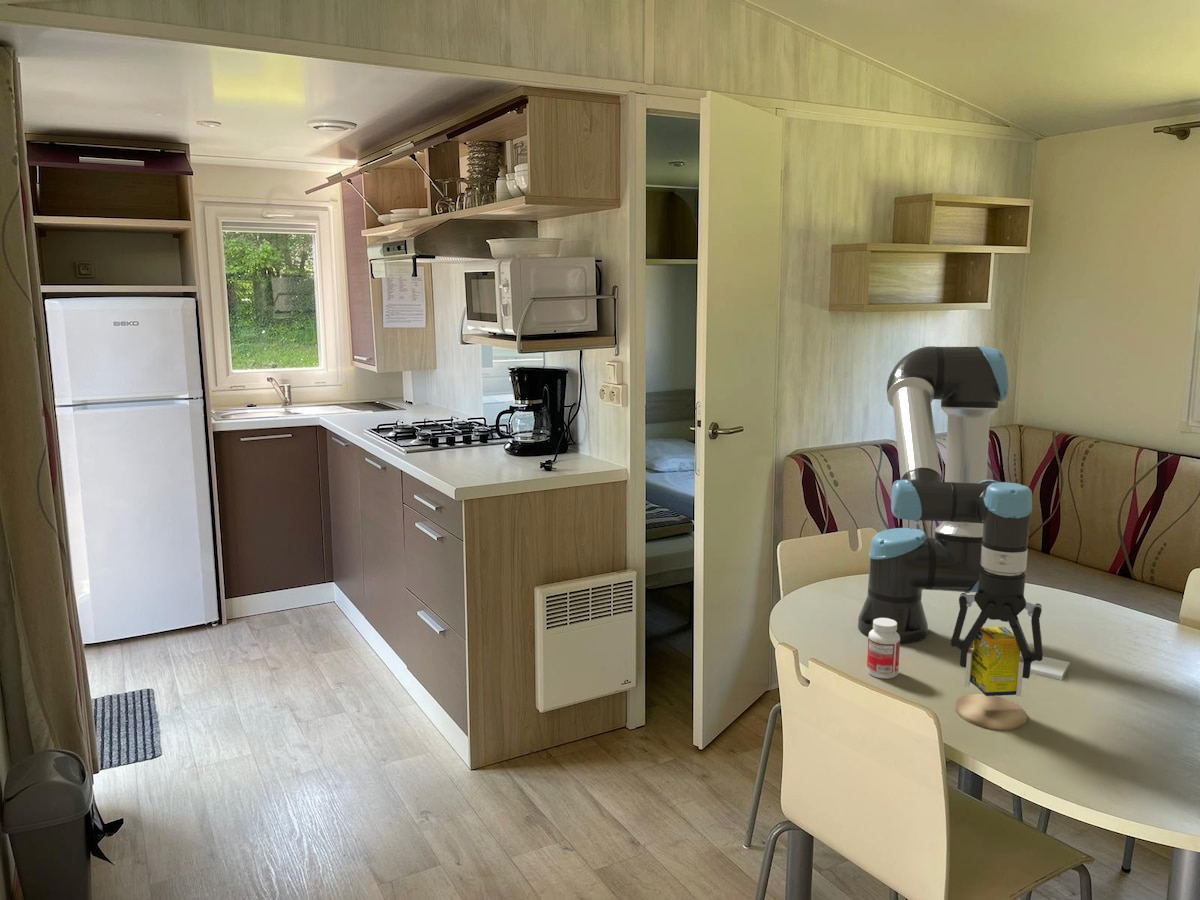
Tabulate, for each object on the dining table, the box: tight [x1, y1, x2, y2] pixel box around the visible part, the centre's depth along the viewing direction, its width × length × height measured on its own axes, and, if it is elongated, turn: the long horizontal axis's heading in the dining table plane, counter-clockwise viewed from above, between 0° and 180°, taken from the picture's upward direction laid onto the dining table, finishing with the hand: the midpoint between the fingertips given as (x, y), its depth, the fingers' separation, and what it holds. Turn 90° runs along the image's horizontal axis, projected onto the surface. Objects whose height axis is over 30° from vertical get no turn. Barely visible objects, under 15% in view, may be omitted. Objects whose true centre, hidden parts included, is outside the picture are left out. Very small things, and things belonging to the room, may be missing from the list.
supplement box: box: [970, 626, 1021, 697], centre depth 163 cm, size 6×6×11 cm
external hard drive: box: [1020, 651, 1071, 681], centre depth 186 cm, size 2×8×12 cm
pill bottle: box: [866, 618, 901, 679], centre depth 181 cm, size 6×6×11 cm
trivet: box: [955, 693, 1028, 731], centre depth 165 cm, size 12×12×1 cm
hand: (992, 688), depth 164 cm, fingers closed on supplement box, 8 cm apart
